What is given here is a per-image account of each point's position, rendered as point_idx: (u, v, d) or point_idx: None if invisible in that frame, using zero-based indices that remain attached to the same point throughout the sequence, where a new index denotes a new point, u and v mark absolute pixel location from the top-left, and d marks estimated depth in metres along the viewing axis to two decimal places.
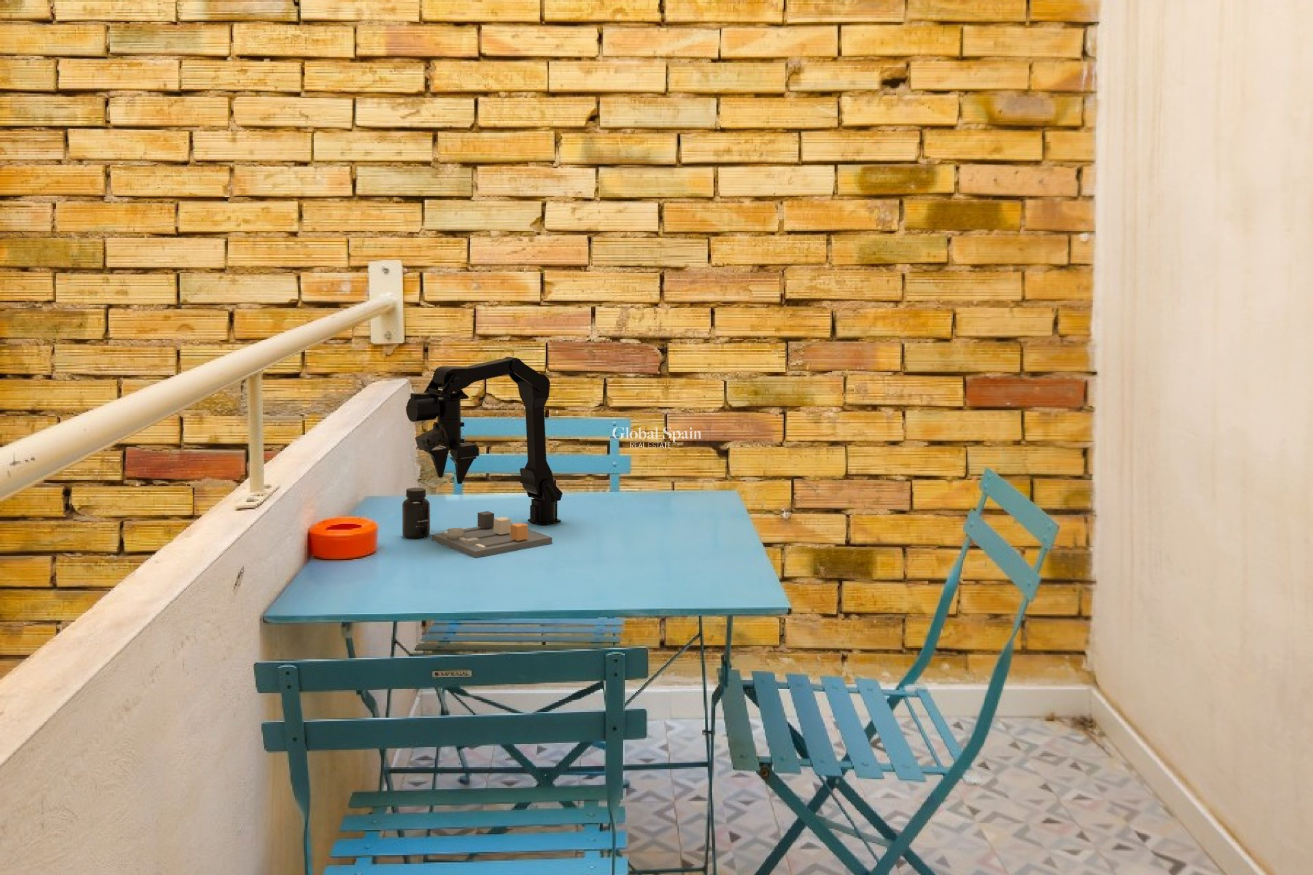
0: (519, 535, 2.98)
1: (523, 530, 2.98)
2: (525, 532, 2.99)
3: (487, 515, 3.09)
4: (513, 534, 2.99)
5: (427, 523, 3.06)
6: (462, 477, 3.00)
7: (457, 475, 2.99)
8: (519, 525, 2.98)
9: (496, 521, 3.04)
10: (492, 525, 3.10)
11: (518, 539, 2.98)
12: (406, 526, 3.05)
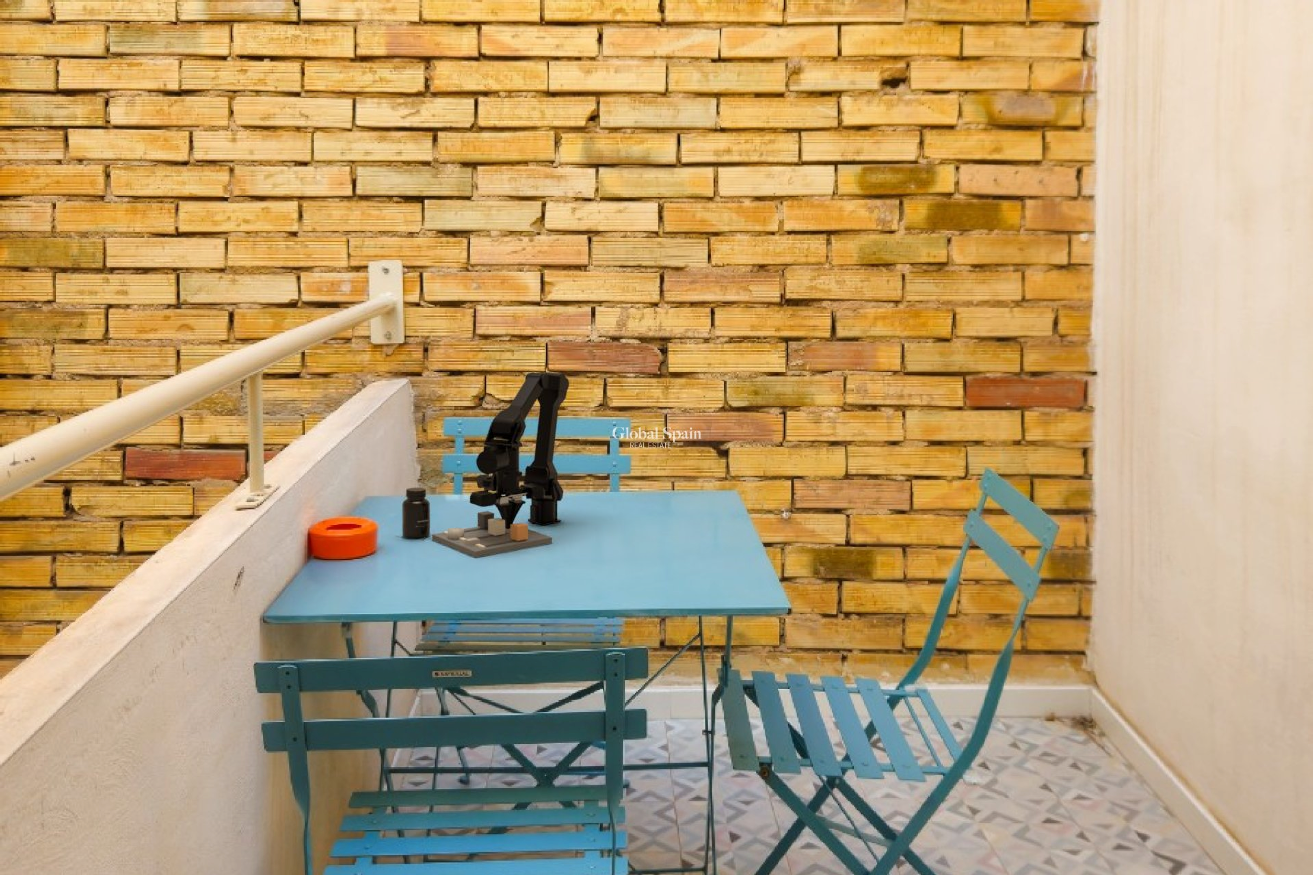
0: (519, 535, 2.98)
1: (523, 530, 2.98)
2: (525, 532, 2.99)
3: (487, 515, 3.09)
4: (513, 534, 2.99)
5: (427, 523, 3.06)
6: (505, 522, 3.05)
7: None
8: (519, 525, 2.98)
9: (490, 522, 3.03)
10: None
11: (518, 539, 2.98)
12: (406, 526, 3.05)
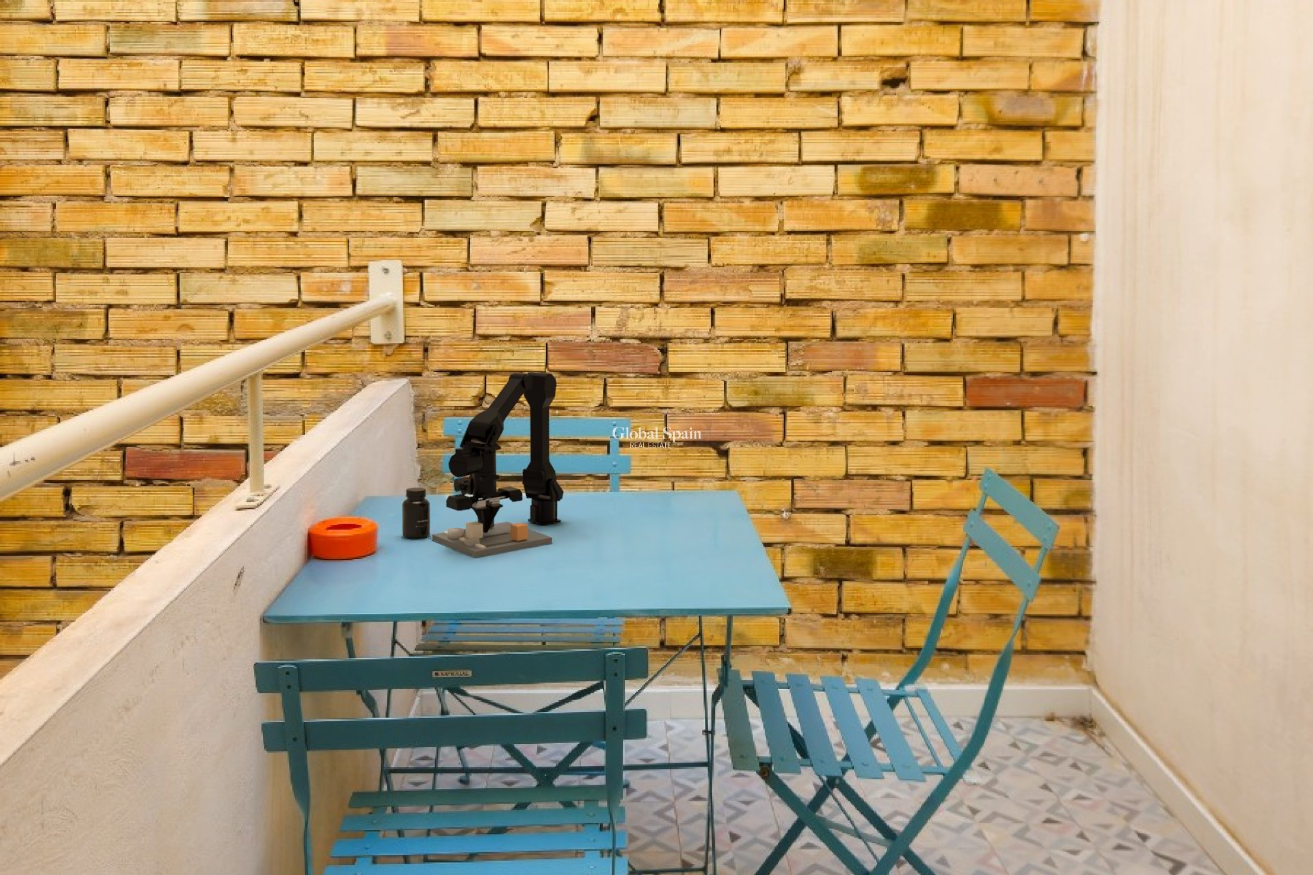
0: (519, 535, 2.98)
1: (523, 530, 2.98)
2: (525, 532, 2.99)
3: None
4: (513, 534, 2.99)
5: (427, 523, 3.06)
6: (483, 526, 3.01)
7: None
8: (519, 525, 2.98)
9: (468, 526, 2.99)
10: (492, 525, 3.10)
11: (518, 539, 2.98)
12: (406, 526, 3.05)
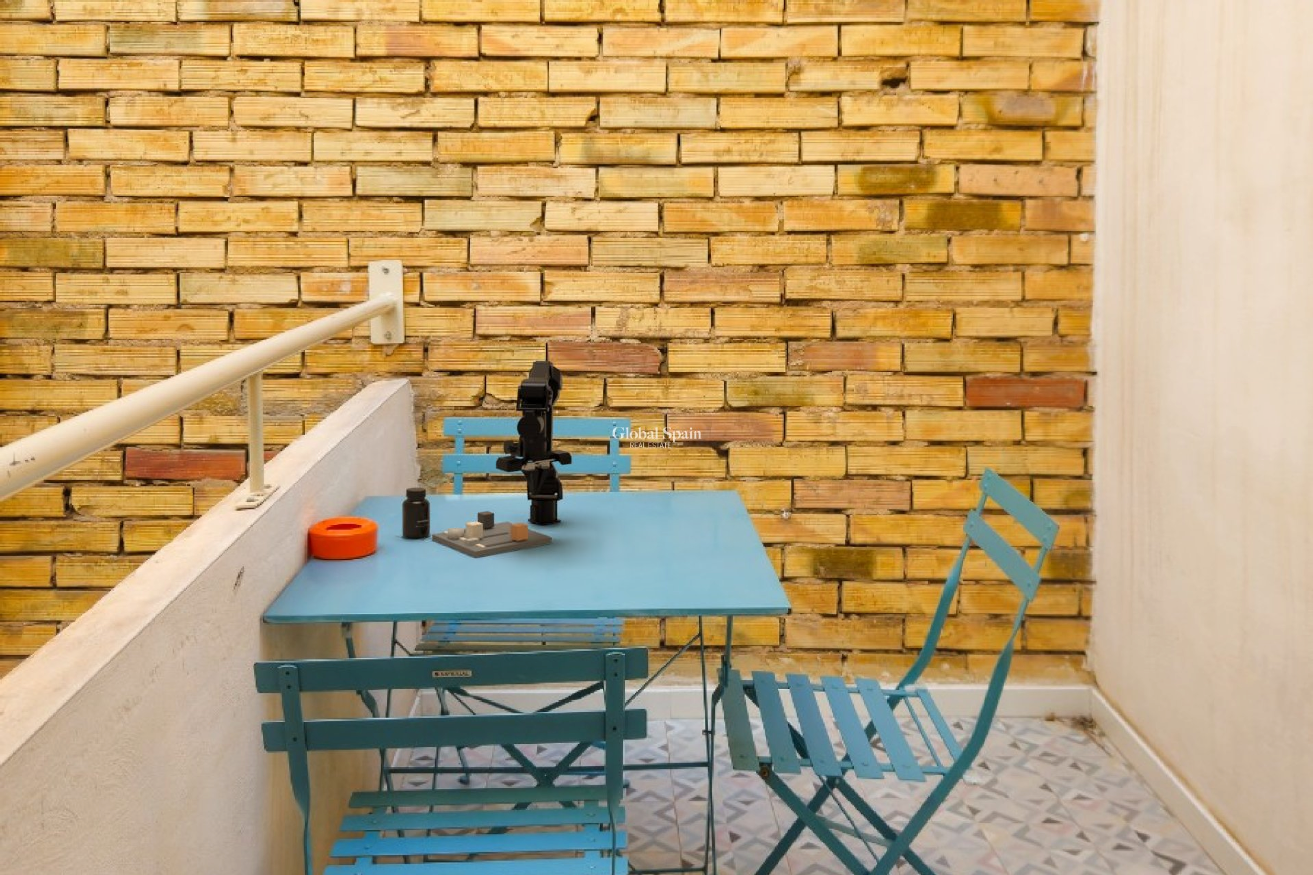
0: (519, 535, 2.98)
1: (523, 530, 2.98)
2: (525, 532, 2.99)
3: (487, 515, 3.09)
4: (513, 534, 2.99)
5: (427, 523, 3.06)
6: (532, 489, 3.00)
7: None
8: (519, 525, 2.98)
9: (468, 526, 2.99)
10: (492, 525, 3.10)
11: (518, 539, 2.98)
12: (406, 526, 3.05)
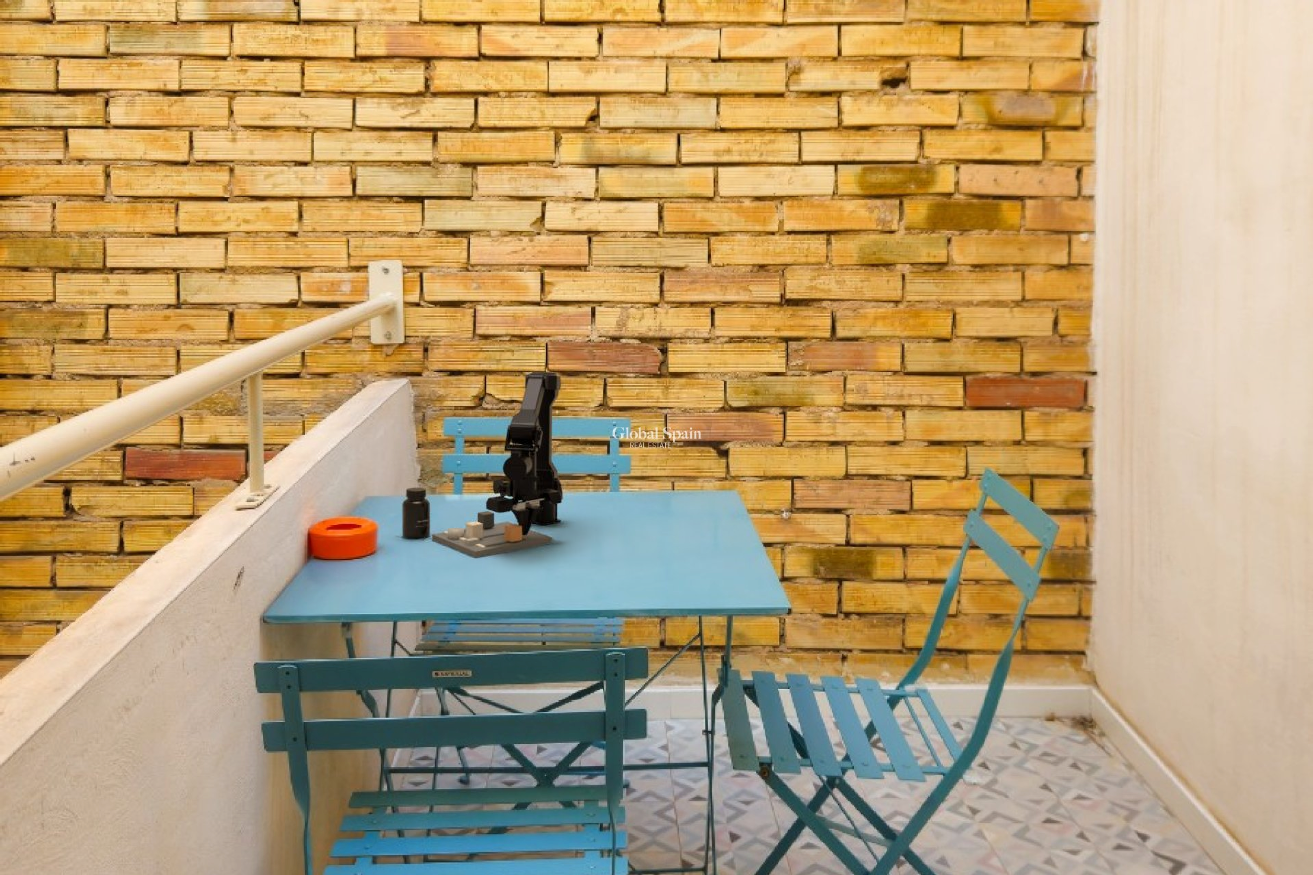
0: (513, 536, 2.97)
1: (517, 531, 2.97)
2: (519, 533, 2.98)
3: (487, 515, 3.09)
4: (507, 535, 2.97)
5: (428, 523, 3.06)
6: (522, 529, 2.99)
7: None
8: (513, 526, 2.97)
9: (468, 526, 2.99)
10: (492, 525, 3.10)
11: (512, 540, 2.97)
12: (406, 526, 3.05)
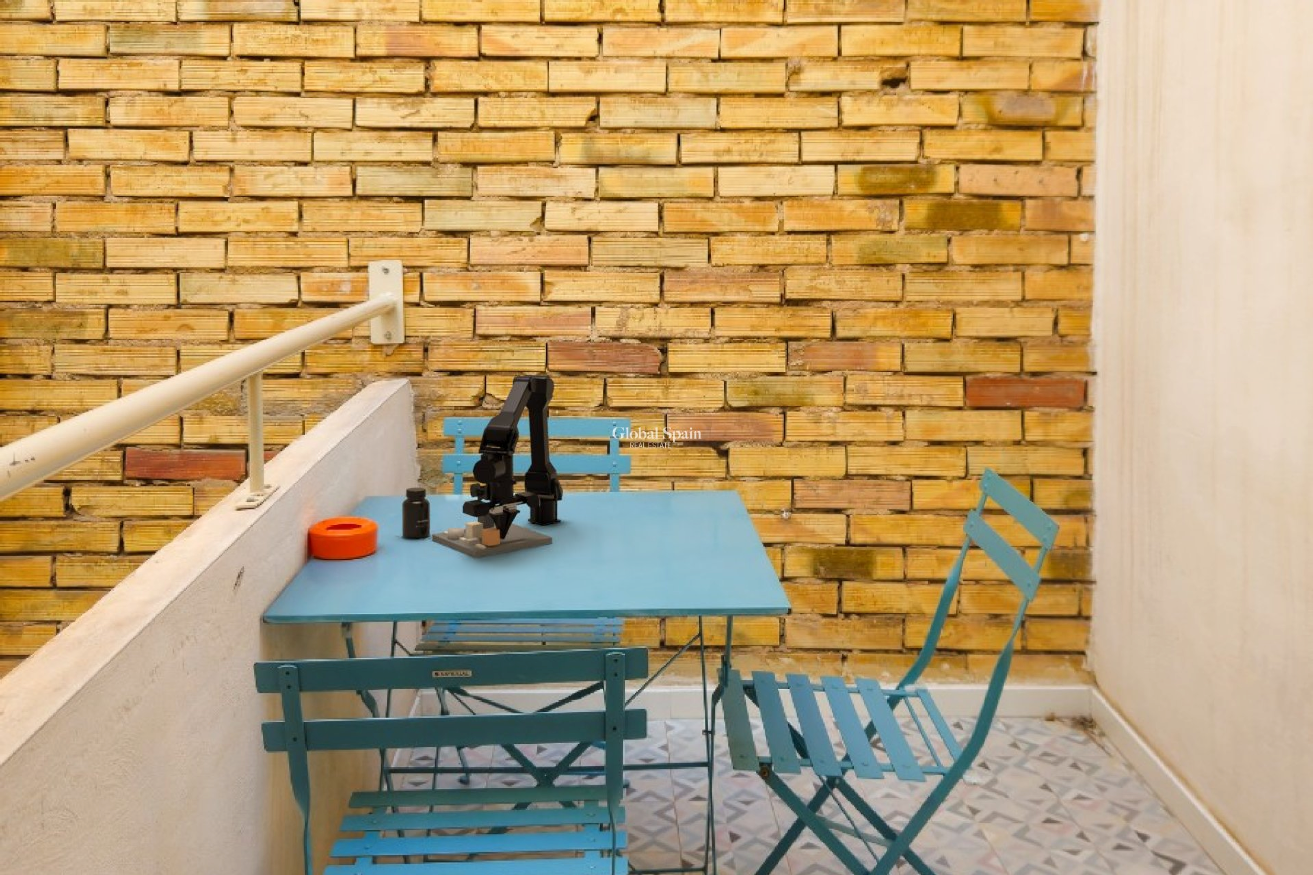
0: (491, 540, 2.92)
1: (494, 535, 2.93)
2: (497, 537, 2.94)
3: (487, 515, 3.09)
4: (485, 539, 2.93)
5: (427, 523, 3.06)
6: (500, 533, 2.95)
7: None
8: (491, 530, 2.93)
9: (468, 526, 2.99)
10: (492, 525, 3.10)
11: (490, 544, 2.92)
12: (406, 526, 3.05)
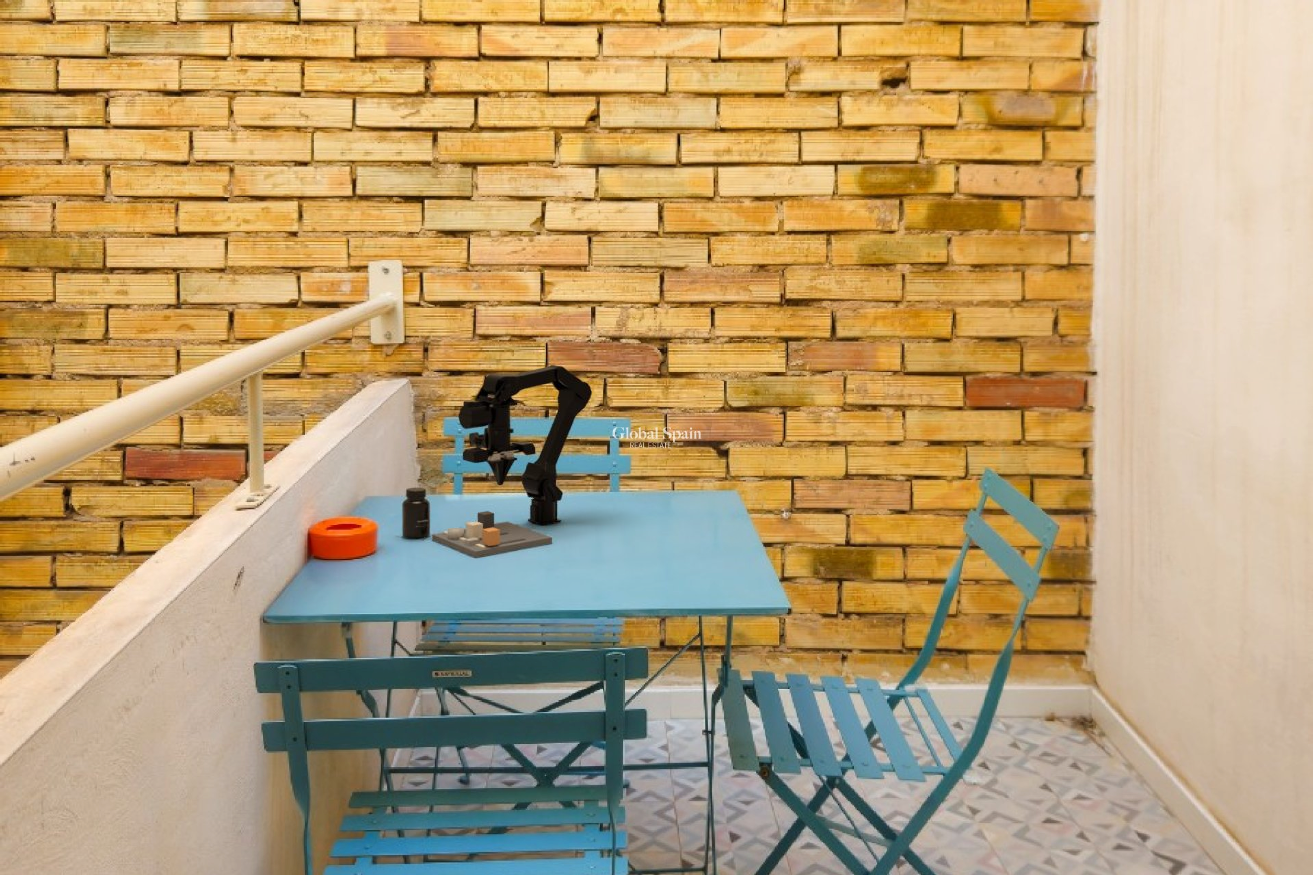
0: (491, 540, 2.93)
1: (494, 535, 2.93)
2: (497, 537, 2.94)
3: (487, 515, 3.09)
4: (485, 539, 2.93)
5: (427, 523, 3.06)
6: (498, 479, 3.12)
7: None
8: (491, 530, 2.93)
9: (468, 526, 2.99)
10: (492, 525, 3.10)
11: (490, 544, 2.93)
12: (406, 526, 3.05)
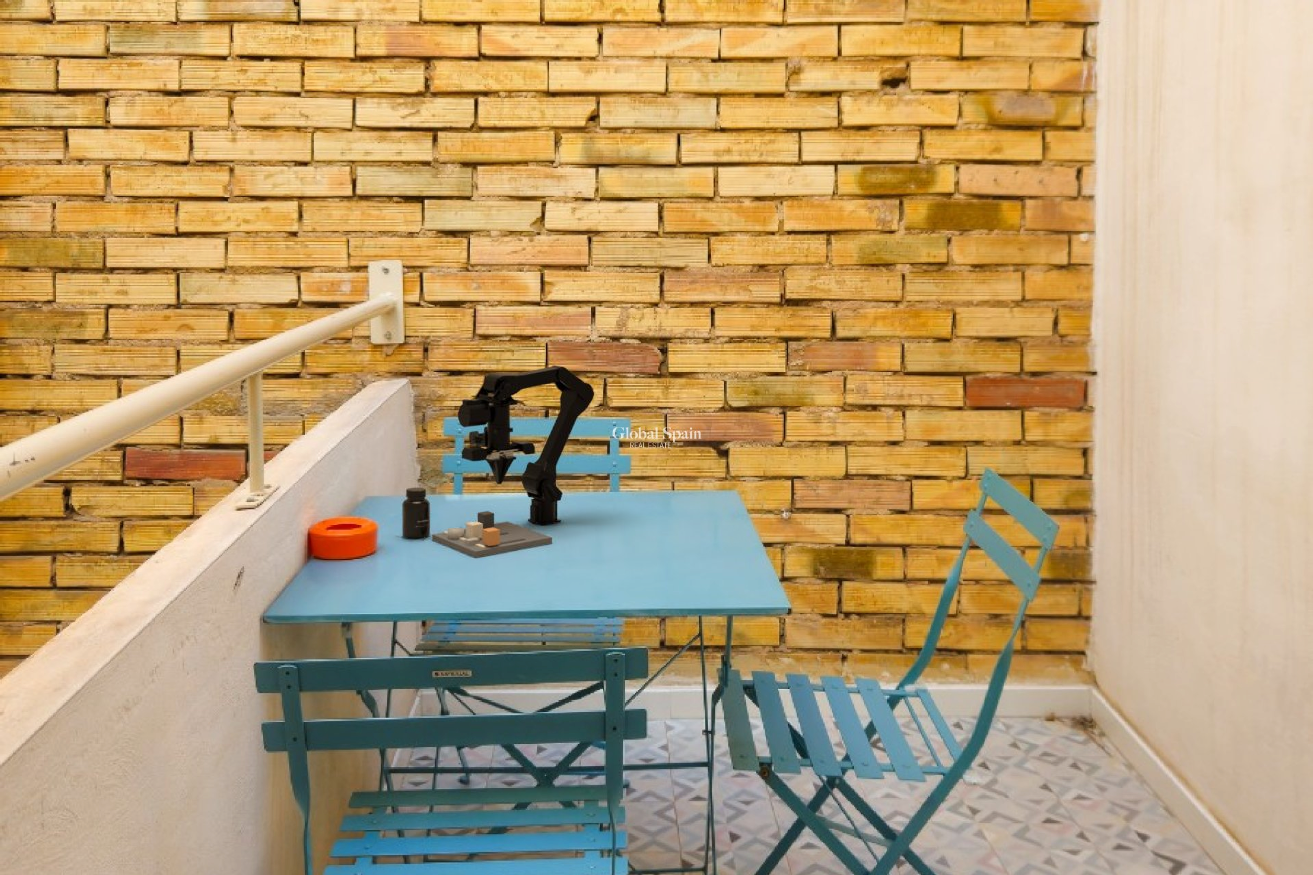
0: (491, 540, 2.93)
1: (494, 535, 2.93)
2: (497, 537, 2.94)
3: (487, 515, 3.09)
4: (485, 539, 2.93)
5: (428, 523, 3.06)
6: (497, 478, 3.12)
7: None
8: (491, 530, 2.93)
9: (468, 526, 2.99)
10: (492, 525, 3.10)
11: (490, 544, 2.93)
12: (406, 526, 3.05)
